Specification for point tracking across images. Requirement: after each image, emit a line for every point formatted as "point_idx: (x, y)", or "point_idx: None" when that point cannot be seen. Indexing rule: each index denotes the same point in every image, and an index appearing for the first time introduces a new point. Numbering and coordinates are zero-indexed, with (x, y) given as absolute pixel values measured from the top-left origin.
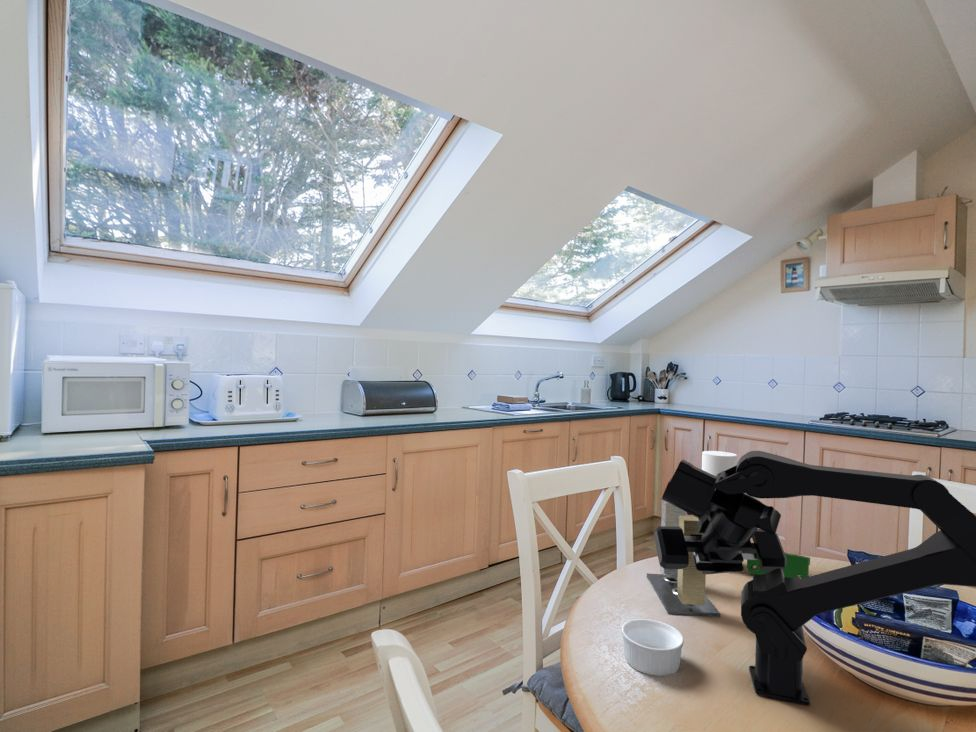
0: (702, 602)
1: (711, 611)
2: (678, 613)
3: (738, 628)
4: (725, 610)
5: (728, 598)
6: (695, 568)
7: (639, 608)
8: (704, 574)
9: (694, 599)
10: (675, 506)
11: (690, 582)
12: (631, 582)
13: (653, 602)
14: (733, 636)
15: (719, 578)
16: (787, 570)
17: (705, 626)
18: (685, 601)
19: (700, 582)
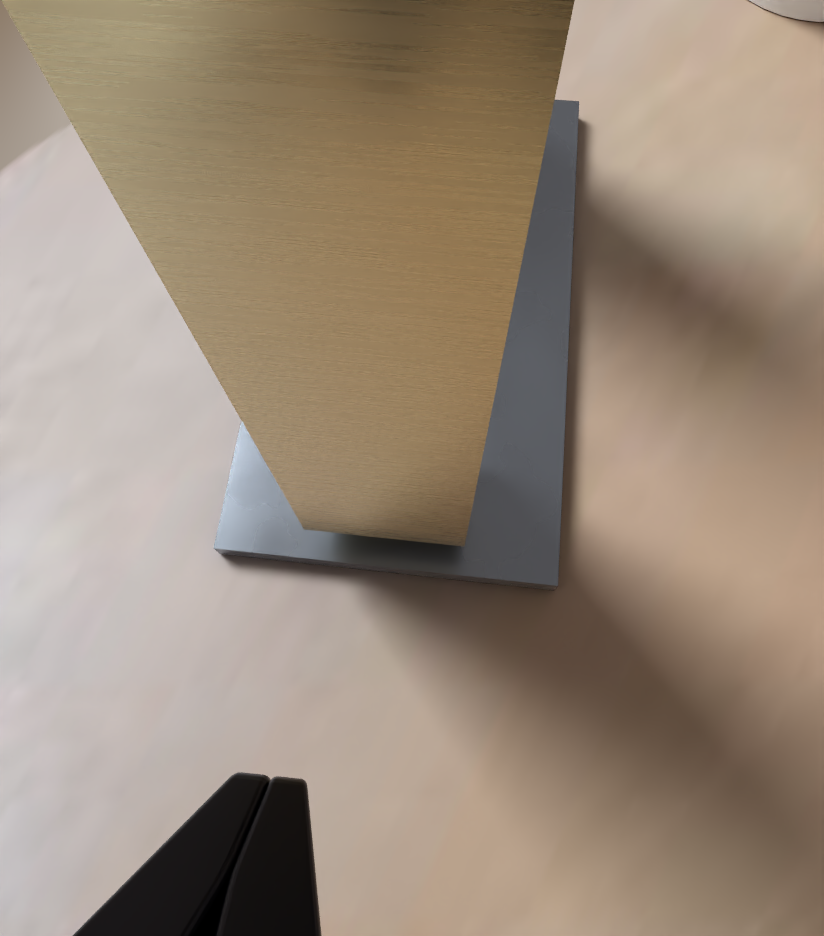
0: (448, 538)
1: (508, 559)
2: (283, 559)
3: (614, 751)
4: (629, 501)
5: (715, 345)
6: (373, 435)
7: (68, 482)
8: (467, 466)
9: (389, 526)
10: None
11: (341, 481)
12: None
13: (200, 404)
14: (529, 871)
15: (759, 108)
16: None
17: (393, 723)
18: (326, 525)
19: (430, 488)
